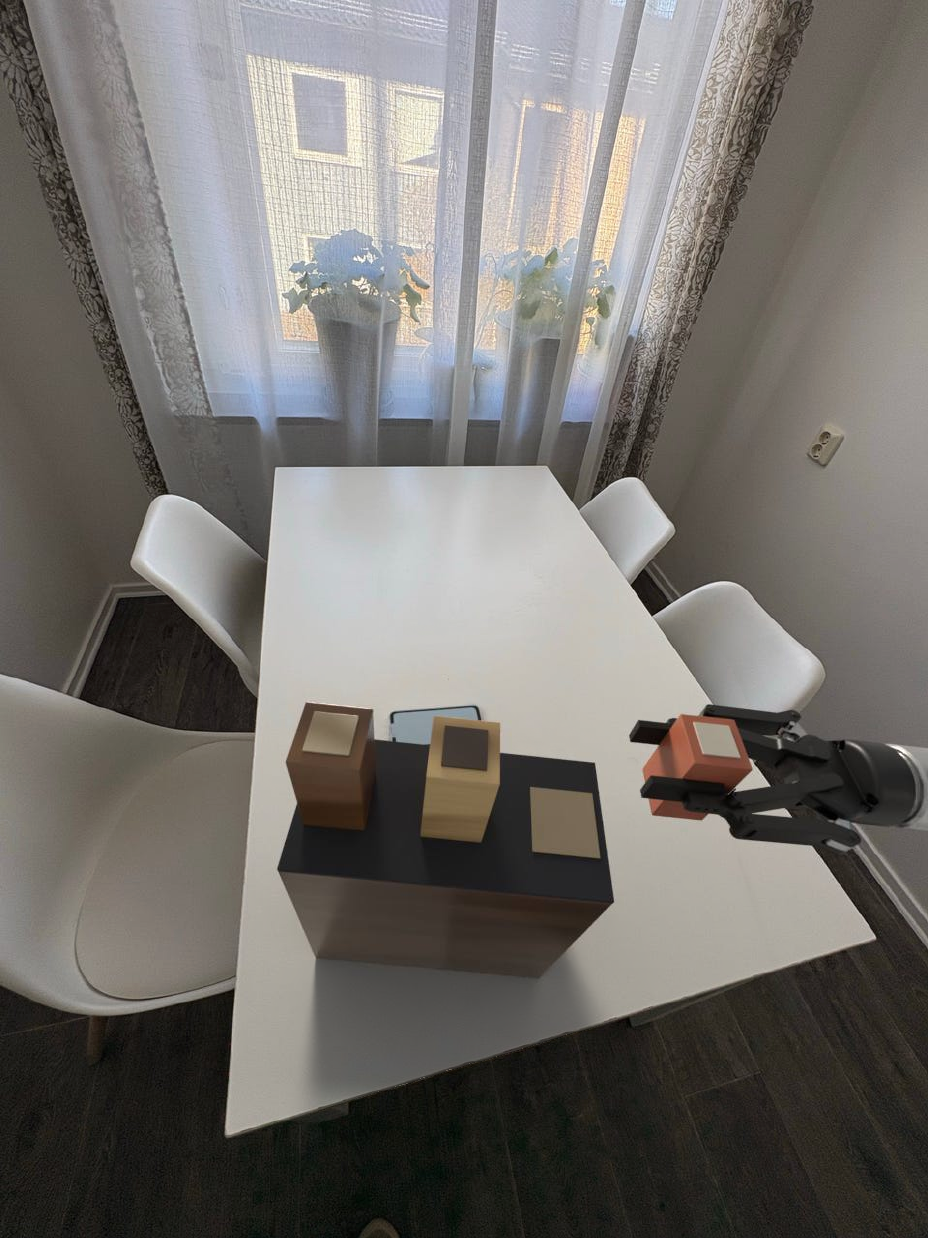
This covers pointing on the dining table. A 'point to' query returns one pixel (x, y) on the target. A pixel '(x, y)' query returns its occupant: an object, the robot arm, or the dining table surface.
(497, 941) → the stand
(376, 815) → the black mat
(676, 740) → the orange block
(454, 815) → the wooden pillar block
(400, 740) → the smartphone
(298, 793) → the wooden block
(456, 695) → the dining table surface
